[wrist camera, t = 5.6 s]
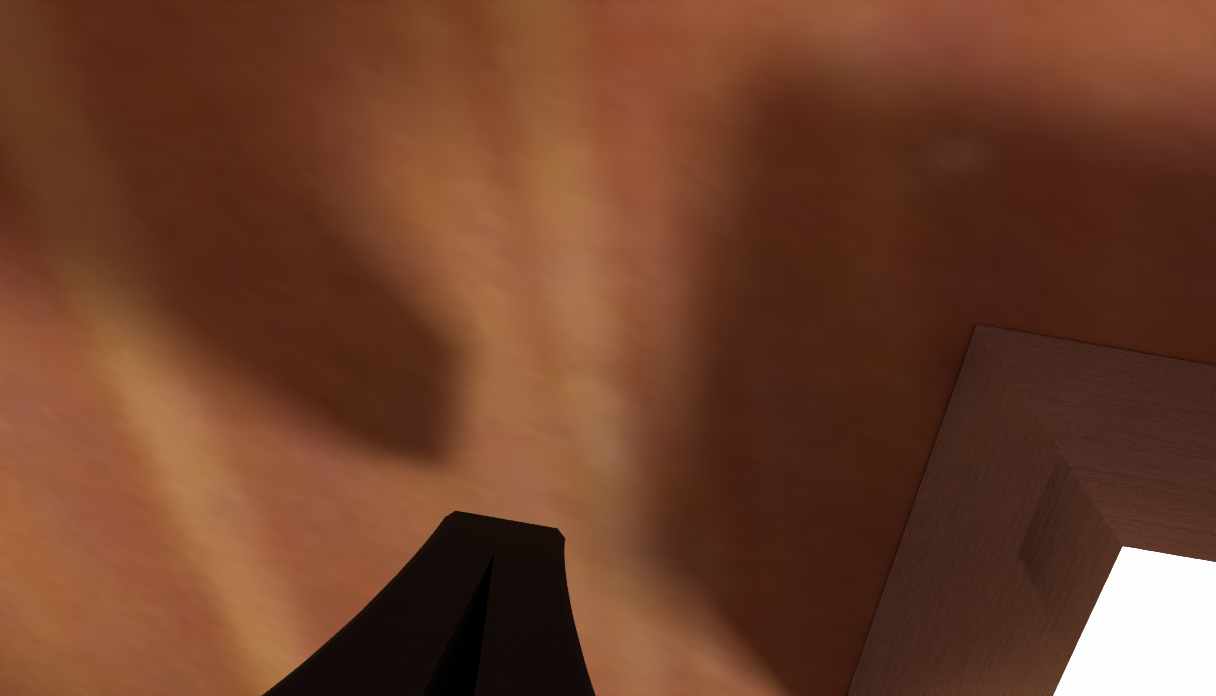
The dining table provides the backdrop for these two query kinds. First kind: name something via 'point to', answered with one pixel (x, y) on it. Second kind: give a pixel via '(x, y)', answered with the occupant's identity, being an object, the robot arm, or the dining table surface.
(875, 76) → the dining table surface
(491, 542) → the robot arm
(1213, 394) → the block
